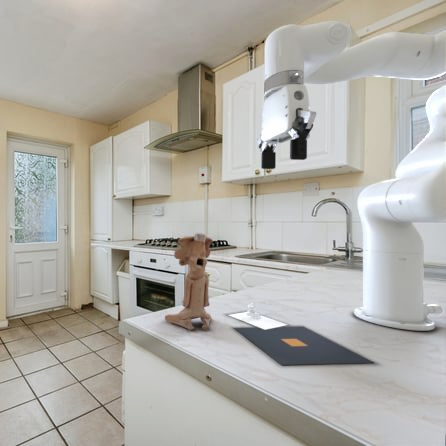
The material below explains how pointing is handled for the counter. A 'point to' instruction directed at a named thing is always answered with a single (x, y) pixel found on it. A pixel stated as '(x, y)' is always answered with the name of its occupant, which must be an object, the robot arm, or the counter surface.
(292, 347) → the centre mat
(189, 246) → the figurine
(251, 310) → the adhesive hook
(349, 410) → the counter surface
